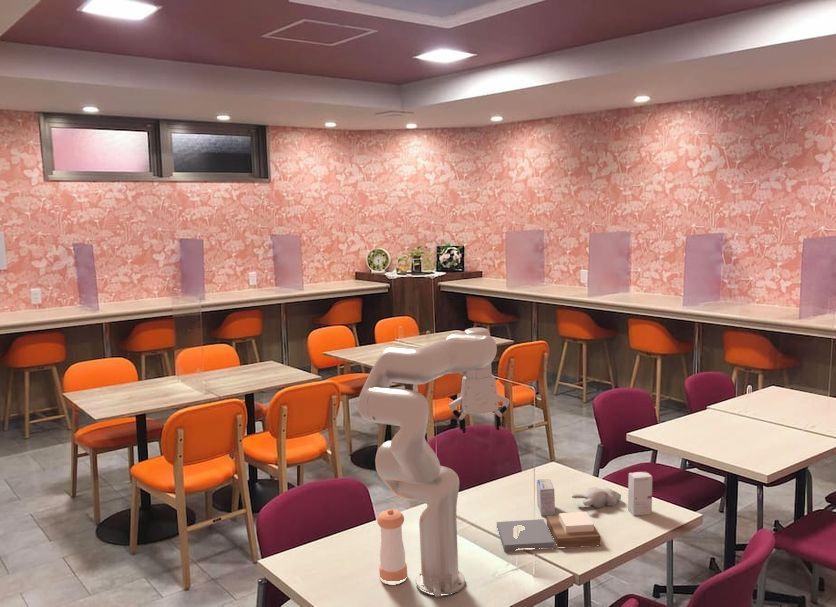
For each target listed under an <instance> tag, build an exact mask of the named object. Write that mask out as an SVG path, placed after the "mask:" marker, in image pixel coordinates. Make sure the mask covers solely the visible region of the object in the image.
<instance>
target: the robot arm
mask: <svg viewBox="0 0 836 607" xmlns="http://www.w3.org/2000/svg"><path fill="white" fill-rule="evenodd" d="M497 352H498V348H497V343H496V340H495V339H494V338H493V337H492V336H491V333H490V331H489V329H488V328H486V327H485V328H484V327H471V328H466V329H465V330H464V331H461V332H456V333H451V334H450V335H449V336H447V337H446V338H445V340H437V341H433V342H431V343H428V344H426V345H423V346H419V347H418V348H417V347H416V348H409V347H397V346H395V347H394V346H391V347H387V348H385V349H384V350H383V351H381V353H380V355H379V356H378V358H377V359H376V361H375V363H374V364H373V366H372V368H371V370H370V372H369V374H368V377H367V379H366V381H365V382H364V385H363V387H362V389H361V391H360V393H359V396H358V402H357V410H358V414H359V416H360V417H361V418H362V419H363V420H365V421H367V422H369V423H376V424H382V425H388V426H389V425H390V426H398V427H399V428H400V429H398V431H396V433H395V434H394V436H393V437H392V439H391V440H387V441H384V442H383V443H382V444H381V445H380V446H379V447H378V449H377V451H376V454H375V460H374V462H375V469H376V472H377V475H378V476H379V478H380V479H381V480H382V481H383V482H384V484H386V486H387V487H388V488H389V490H391V491H392V494H394V495H396V496H397V497H399V498H402V499H406V500H411V501H416V502H420V503H424V504H426V505H427V506H426V508H424V510H423V511H422V512H421V513H420V517H419V522H418V524H419V527H418V528H419V548H420V551H419V552H420V569H421V571H420V572H419V573H418V574H417V576H416V578H415V585H416V584H417V586H418V587H419V588H421V589H422V590H424V591H426V592H429V593H433V594H434V595H435V596H434V597H436V598H439V597H442V596H441V594H451V593H455V592H457V593H459V592H460V591H461V590H463V588H464V586H465V584H466V582H465V580H466V578H465V576H464V574H463V573H462V572H461V571H459V556H458V555H459V554H458V553H459V552H458V526H457V523H458V522H457V510H458V509H457V507H458V505H457V504H458V496H459V490H460V479H459V478H460V477H459V476H458V473H457V472H455V471H454V469H451V468H450V467H447V466H443V465H441V464H440V460H439V458H438V456H437V454H436V453H435V451H434V450H433V448H432V447H431V445H430V444H429V443H428V441H427V440H426V438H425V437H426V432H427V427H428V421H429V415H430V406H429V402H428V400H427V398H426V397H425V395H424V394H422V393H420V392H419V391H415V390H412V389H407V388H398V387H390V386H391V384H392V383H401V384H406V385H407V384H408V385H424V384H428V383H429V382H432V381H435V380H436V379H438V378H440V377H443V376H445V375H447V374H457V373H459V375H463V376H462V380H461V387H460V390H461V391H460V397H458V398H456V399H455V400H452V402H449V403H448V407H449V409H450V410H451V412H452V414H453V415H454V416H455V417H456V418H458V422H459V423H458V425H459V426H458V427H459V430H461V432H462V433H463V434H466V419H465V417H466V416H467V415H474V414H475V415H476V414H487V413H494V416H493V418H494V420H493V422H494V428H495V430H496V431H500V427H502V419H501V418H502V416H503V414H504V413H505V412H506V410H507V409H508V406H509V405H510V402H511V400H510V399H509V398H507V397H505V396H502V395H500V394H498V388H497V381H496V377H495V375H494V374H492V362H493V361H494V359H495V358H496V355H497ZM499 402H502V405H501V406H499ZM458 405H460V407H461V409H460V410H457V409H456V407H457V406H458ZM421 575H422V576H421ZM417 586H416V587H417ZM421 586H423V587H421ZM459 590H460V591H459ZM455 594H456V593H455Z"/></svg>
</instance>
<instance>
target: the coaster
mask: <svg viewBox="0 0 836 607" xmlns="http://www.w3.org/2000/svg"><path fill="white" fill-rule="evenodd" d="M558 515H559V521H560V523H561V525H562V526H563V528H564V530H565V532H566V533H570V532H586V531H594V526H595V525H594V523H593V521H592V519H591V518H590V516H589V514H588V513H587V512H586V511H577V512H561V513H558Z"/></svg>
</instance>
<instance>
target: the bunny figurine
mask: <svg viewBox="0 0 836 607" xmlns="http://www.w3.org/2000/svg"><path fill="white" fill-rule="evenodd" d="M621 496H622V494H620V493H619V492H616V491H615V490H612V488H609V487H605V488H599V487H595V486H594V487H589V488H588V489H587V491H586V493H584V494H583V493H573V494H572V496H571V497H572V499H584V500H582V504H583V506H586V507H590V506H593V507H594V508H595V509H598V508H604V507H605V506H606V505H607V506H616V505H617V503H618V502H619V501H620V500H621V498H622V497H621Z"/></svg>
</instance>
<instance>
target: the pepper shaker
mask: <svg viewBox="0 0 836 607" xmlns="http://www.w3.org/2000/svg"><path fill="white" fill-rule="evenodd" d="M404 522H405V516H404V514H403V513H402V512H401V511H400V510H396V509H392V508H388V509H387V510H382V511H381V512H379V514H378V516H377V519H376V523H377V525H378V526H379V527H380V548H379V560H380V561H379V562H380V564H379V566H378V567H379V570H378V571H379V578H380V577H381V578H382V579H383V580H386V581H400V580H403V579H405V578H406V577H407V578H408V564H407V562H406V551H405V547H404V541H403V532H402V531H403V530H402V528H403V527H402V526H403V524H404Z"/></svg>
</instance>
